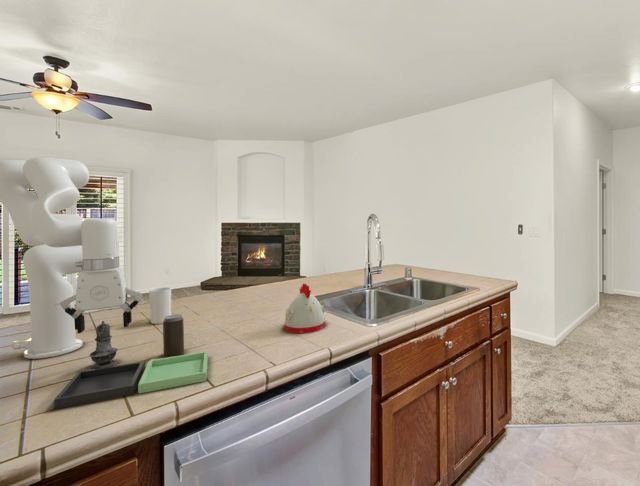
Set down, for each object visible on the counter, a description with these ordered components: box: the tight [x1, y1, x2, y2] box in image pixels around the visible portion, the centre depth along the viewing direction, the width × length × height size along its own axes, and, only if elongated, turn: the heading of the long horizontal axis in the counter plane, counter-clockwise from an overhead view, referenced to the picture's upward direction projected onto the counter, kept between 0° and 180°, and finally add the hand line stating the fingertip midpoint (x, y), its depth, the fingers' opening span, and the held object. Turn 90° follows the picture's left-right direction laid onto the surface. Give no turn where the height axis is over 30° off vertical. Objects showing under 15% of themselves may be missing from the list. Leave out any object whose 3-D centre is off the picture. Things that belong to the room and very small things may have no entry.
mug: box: [148, 286, 172, 325], centre depth 136 cm, size 10×7×12 cm, turn 38°
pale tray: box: [137, 350, 209, 394], centre depth 92 cm, size 14×15×2 cm
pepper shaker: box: [162, 313, 185, 358], centre depth 105 cm, size 5×5×11 cm
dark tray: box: [53, 360, 146, 410], centre depth 86 cm, size 14×15×2 cm
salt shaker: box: [89, 320, 119, 370], centre depth 97 cm, size 6×6×12 cm
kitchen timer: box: [284, 283, 326, 334], centre depth 129 cm, size 14×14×15 cm
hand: (104, 328), depth 97 cm, fingers open, 9 cm apart
